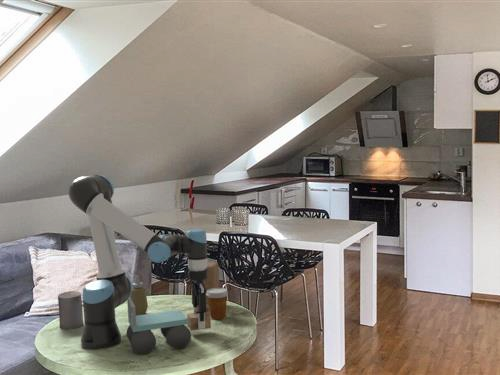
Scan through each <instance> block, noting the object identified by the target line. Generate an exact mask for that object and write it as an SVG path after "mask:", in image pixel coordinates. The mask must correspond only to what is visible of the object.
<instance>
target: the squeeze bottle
mask: <svg viewBox="0 0 500 375" xmlns="http://www.w3.org/2000/svg"><path fill="white" fill-rule="evenodd" d="M139 276H140V275H138V274H135V277H134V282H133V283H132V282H131V283H132V293H131V295H130V297H129V298H131V300H132V302H133V304H134V305H135V311H136V316H137V315H144V314H147V311H148V308H149V306H148V305H149V304H148V299H147V298H148V297H147V293H146V288H145V287H144V283H143V282H141V280H140V277H139ZM131 310H132V309H131Z"/></svg>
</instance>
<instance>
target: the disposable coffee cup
mask: <svg viewBox="0 0 500 375" xmlns="http://www.w3.org/2000/svg"><path fill="white" fill-rule="evenodd" d="M206 295H207V298H208V304H209V307H210V315H211V320H214V321H219V320H224V319H225V318H226V316H227V315H226V314H227V303H228V302H227V301H228V300H227V299H228V295H229V292H228V289H227V288H224V287H219V288H213V289H209V290H207V293H206Z"/></svg>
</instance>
